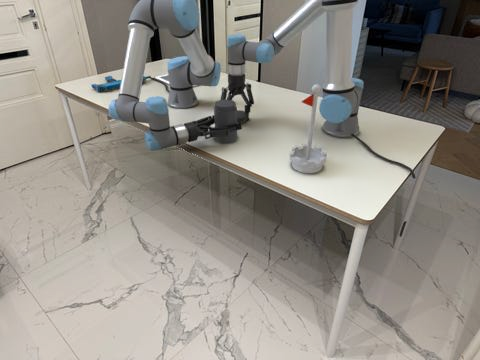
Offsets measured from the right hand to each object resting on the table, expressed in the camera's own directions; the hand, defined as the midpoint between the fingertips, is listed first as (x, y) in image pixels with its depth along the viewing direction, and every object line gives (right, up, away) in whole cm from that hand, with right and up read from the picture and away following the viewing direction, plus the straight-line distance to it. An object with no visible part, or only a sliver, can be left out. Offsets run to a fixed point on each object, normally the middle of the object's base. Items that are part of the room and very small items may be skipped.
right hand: (236, 121), depth 158 cm
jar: (-4, -10, -14) cm, 18 cm away
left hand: (-1, -3, -16) cm, 16 cm away
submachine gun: (-71, +32, +49) cm, 92 cm away
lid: (0, +3, -2) cm, 3 cm away
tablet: (-35, +35, +54) cm, 74 cm away
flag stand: (+26, -22, -34) cm, 48 cm away
